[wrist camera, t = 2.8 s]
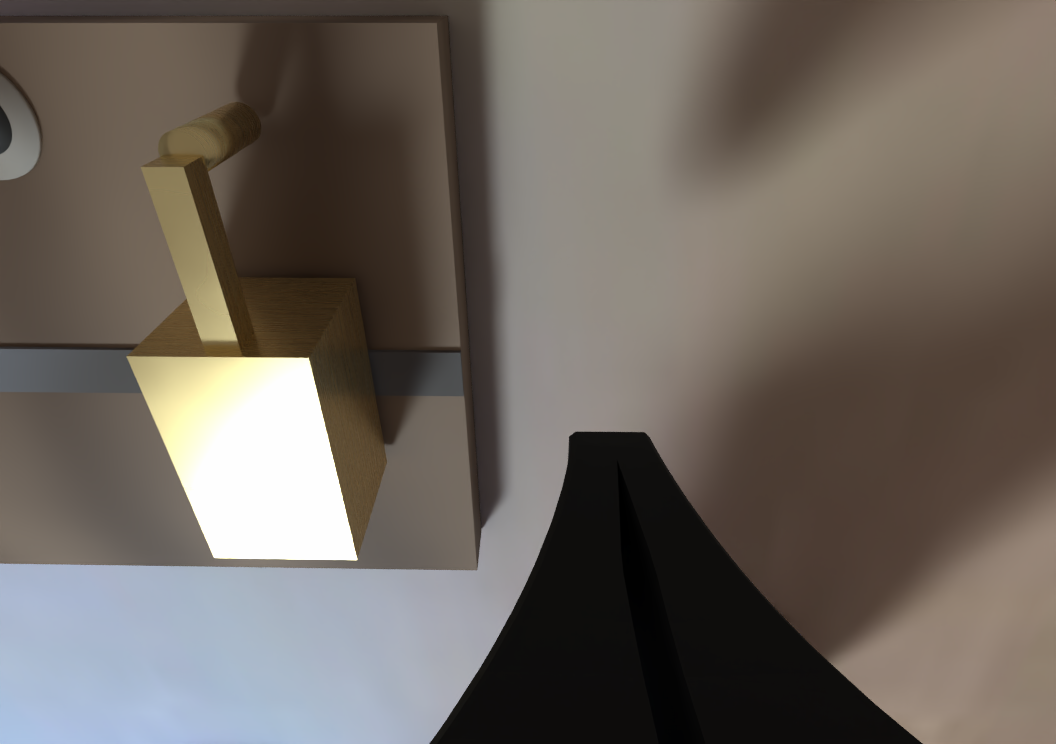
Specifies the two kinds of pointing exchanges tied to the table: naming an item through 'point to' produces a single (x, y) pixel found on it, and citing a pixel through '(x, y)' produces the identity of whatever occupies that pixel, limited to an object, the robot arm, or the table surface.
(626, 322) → the table surface
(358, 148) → the gauge board
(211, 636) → the table surface
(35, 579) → the table surface
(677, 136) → the table surface
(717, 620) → the robot arm
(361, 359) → the brass leg
